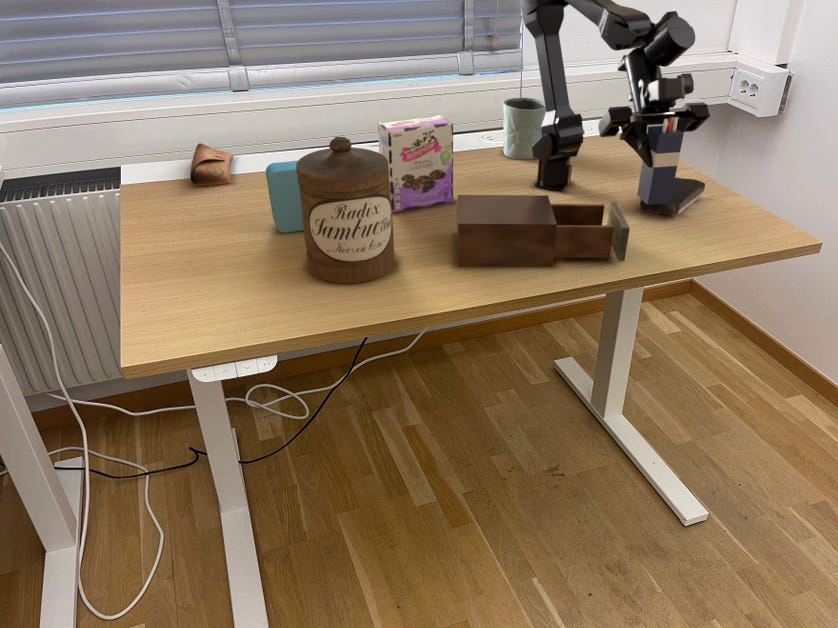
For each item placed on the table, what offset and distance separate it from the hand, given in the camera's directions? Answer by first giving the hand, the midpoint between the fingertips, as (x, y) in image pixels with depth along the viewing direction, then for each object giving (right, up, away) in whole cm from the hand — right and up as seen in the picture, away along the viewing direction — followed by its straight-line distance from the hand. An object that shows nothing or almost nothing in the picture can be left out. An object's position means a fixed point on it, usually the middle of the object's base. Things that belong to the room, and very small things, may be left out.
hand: (663, 165), depth 121 cm
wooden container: (-54, -17, +1) cm, 57 cm away
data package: (-65, -8, +14) cm, 67 cm away
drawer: (-14, -13, +7) cm, 20 cm away
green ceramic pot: (-21, +17, +50) cm, 57 cm away
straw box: (-1, -5, +5) cm, 7 cm away
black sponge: (+8, -1, +26) cm, 27 cm away
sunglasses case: (-91, +9, +36) cm, 98 cm away
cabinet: (-27, -14, +7) cm, 31 cm away
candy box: (-44, -1, +24) cm, 51 cm away
